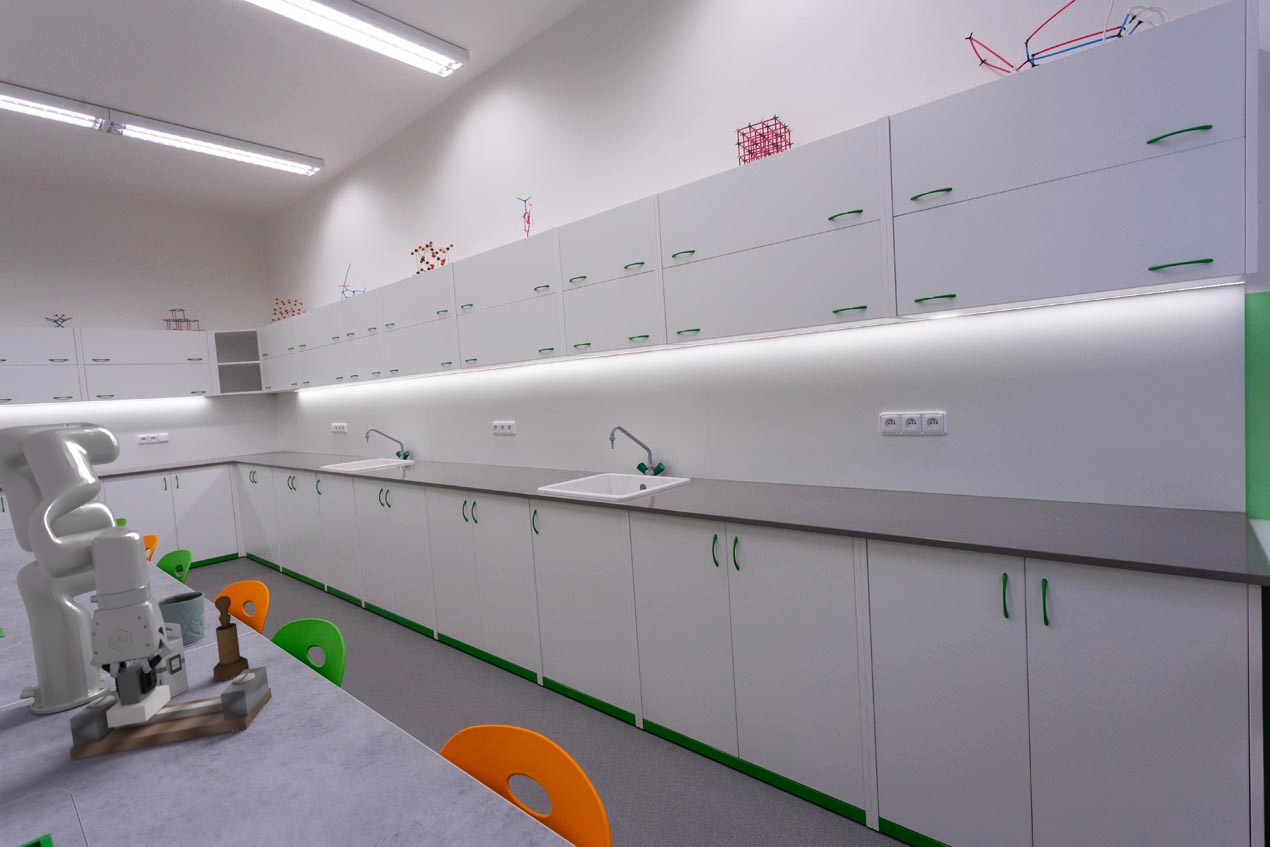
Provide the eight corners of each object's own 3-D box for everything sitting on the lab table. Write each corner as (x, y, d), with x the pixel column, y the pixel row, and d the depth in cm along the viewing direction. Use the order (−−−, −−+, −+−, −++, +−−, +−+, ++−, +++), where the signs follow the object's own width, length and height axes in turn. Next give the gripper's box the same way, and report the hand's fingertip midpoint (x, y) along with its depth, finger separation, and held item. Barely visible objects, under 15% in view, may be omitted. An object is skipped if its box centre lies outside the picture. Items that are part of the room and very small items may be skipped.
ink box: (138, 697, 126) (129, 630, 125) (163, 686, 131) (154, 621, 130) (165, 701, 123) (156, 633, 123) (189, 689, 128) (181, 623, 127)
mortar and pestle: (230, 681, 130) (221, 602, 129) (206, 680, 132) (196, 602, 131) (255, 667, 137) (246, 591, 136) (232, 666, 138) (223, 591, 137)
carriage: (108, 727, 107) (101, 679, 106) (135, 705, 115) (129, 660, 114) (146, 721, 108) (139, 673, 108) (170, 699, 116) (164, 655, 115)
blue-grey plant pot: (152, 648, 153) (146, 603, 153) (194, 632, 163) (188, 590, 162) (177, 652, 150) (171, 606, 149) (218, 635, 159) (212, 592, 158)
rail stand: (71, 760, 104) (65, 718, 104) (115, 723, 116) (110, 686, 115) (246, 728, 110) (241, 689, 109) (271, 696, 122) (267, 661, 121)
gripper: (58, 611, 105) (72, 711, 106) (163, 597, 108) (176, 694, 109) (87, 597, 112) (100, 690, 113) (185, 584, 115) (197, 675, 116)
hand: (137, 691), depth 111 cm, fingers open, 3 cm apart
